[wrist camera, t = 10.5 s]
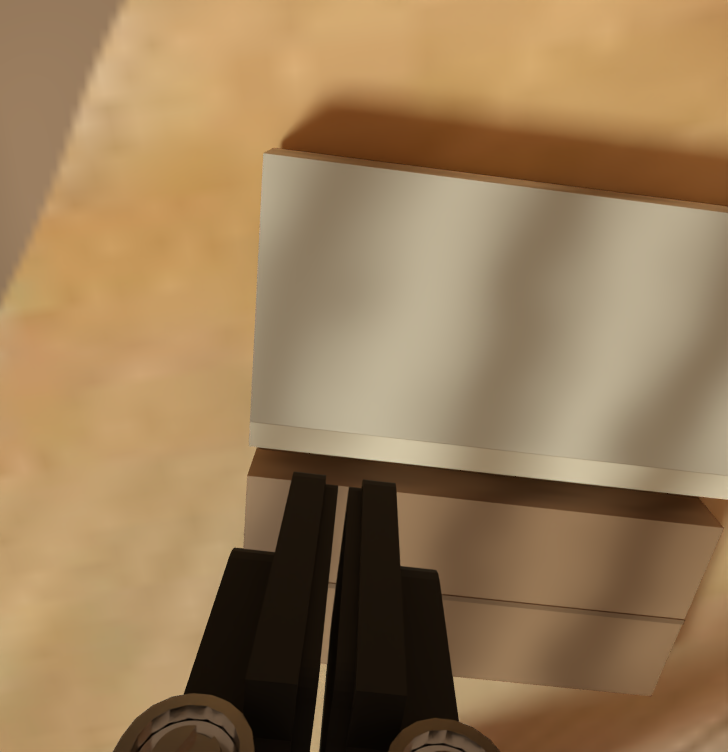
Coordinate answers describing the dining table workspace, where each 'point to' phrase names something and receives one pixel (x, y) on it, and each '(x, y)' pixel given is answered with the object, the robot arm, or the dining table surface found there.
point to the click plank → (491, 325)
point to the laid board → (525, 566)
